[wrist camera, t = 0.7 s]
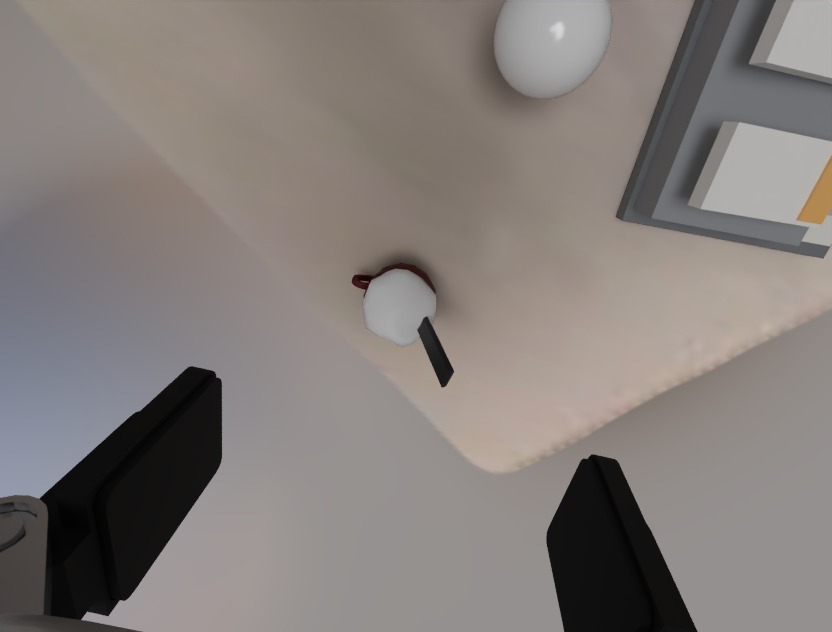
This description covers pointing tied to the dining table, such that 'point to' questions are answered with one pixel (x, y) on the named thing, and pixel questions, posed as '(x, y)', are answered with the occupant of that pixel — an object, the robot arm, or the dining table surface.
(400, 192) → the dining table surface
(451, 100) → the dining table surface
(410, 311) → the cocoa
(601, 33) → the lightbulb
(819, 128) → the switch unit
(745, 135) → the switch
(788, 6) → the switch
